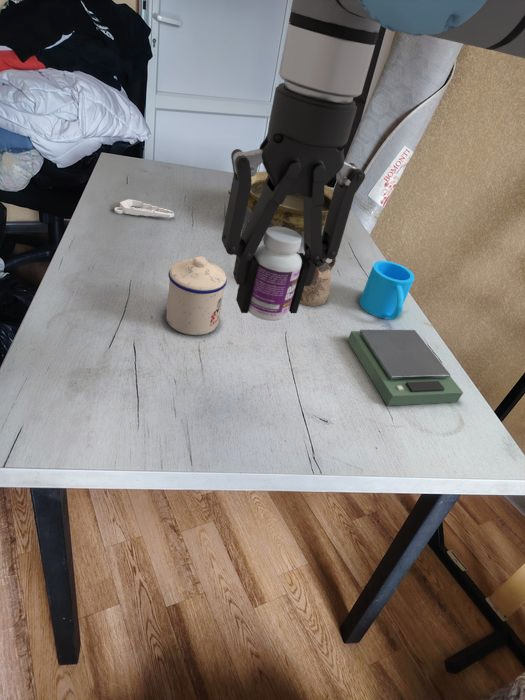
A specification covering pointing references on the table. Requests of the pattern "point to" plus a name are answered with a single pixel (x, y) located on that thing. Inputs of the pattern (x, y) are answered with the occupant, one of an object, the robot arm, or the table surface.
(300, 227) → the ceramic bowl
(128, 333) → the table surface
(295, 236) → the pill bottle
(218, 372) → the table surface
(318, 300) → the figurine
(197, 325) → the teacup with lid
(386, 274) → the mug
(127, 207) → the white flat elongated piece
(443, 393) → the scale
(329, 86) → the robot arm
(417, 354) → the scale pan
